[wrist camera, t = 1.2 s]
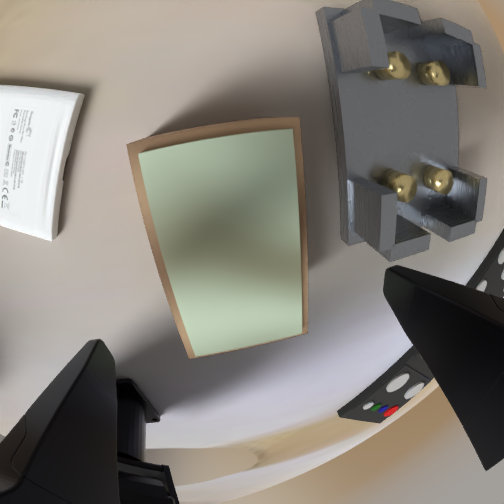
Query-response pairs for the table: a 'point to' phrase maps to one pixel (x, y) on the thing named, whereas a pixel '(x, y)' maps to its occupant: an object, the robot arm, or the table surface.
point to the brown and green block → (228, 230)
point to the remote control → (418, 356)
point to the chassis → (400, 125)
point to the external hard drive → (34, 156)
